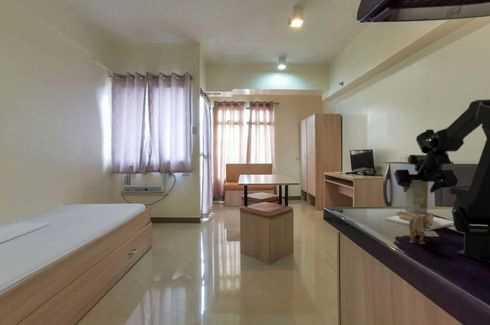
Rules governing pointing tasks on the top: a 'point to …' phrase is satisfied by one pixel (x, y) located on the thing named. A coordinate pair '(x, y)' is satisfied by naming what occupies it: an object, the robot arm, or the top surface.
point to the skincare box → (417, 197)
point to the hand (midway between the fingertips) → (417, 191)
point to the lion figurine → (419, 227)
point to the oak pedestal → (410, 215)
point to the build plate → (436, 221)
